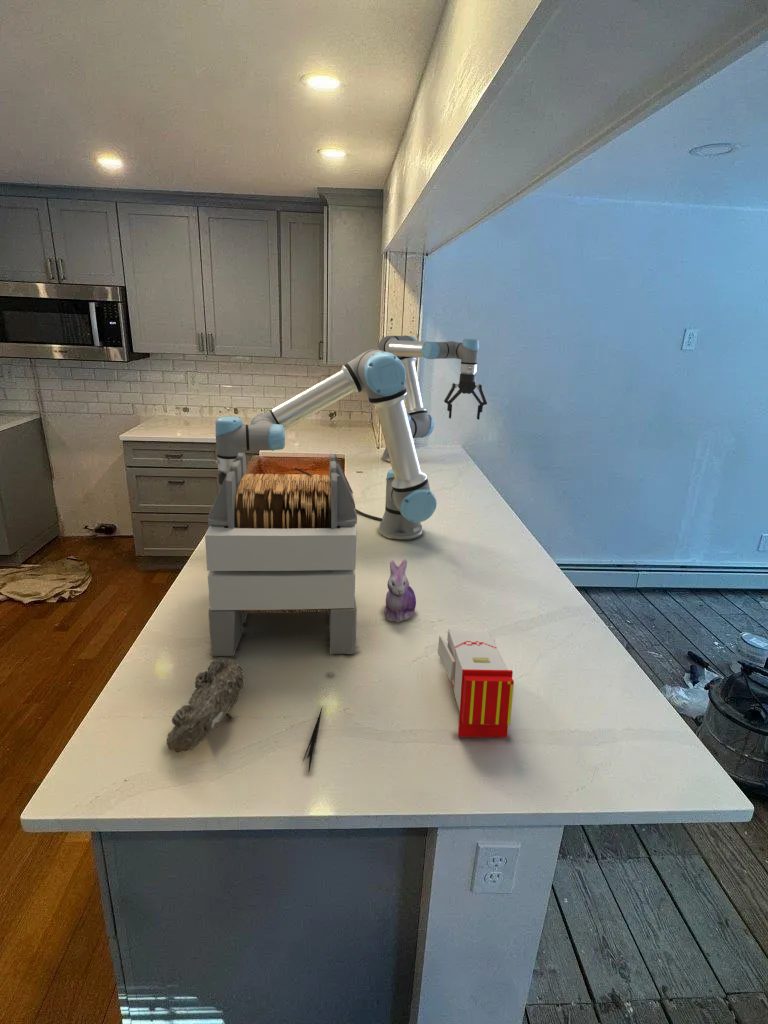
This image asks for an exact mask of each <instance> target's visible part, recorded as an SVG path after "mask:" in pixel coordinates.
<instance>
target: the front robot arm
mask: <svg viewBox="0 0 768 1024" xmlns="http://www.w3.org/2000/svg"><path fill="white" fill-rule="evenodd" d="M405 379H406V371H405V367H404V365H403V363H402V362H401V361H400V359H399V358H398V357H397V356H395V355H394V354H392V353H389V352H385V351H382V350H378V348H377V349H375V348H374V349H373V348H372V349H369V350H366V351H363V352H362V353H361V354H360V355H358V356H356V357H354V358H352V360H350V361H348V362H346V363H345V364H343V365H342V366H341V369H340V370H339V371H338V372H336V373H334V374H332V375H330V376H329V377H327V378H325V379H323V380H321V381H319V382H318V383H316V384H314V385H312V386H311V387H309V388H307V389H306V390H304V391H302V392H300V393H298V394H297V395H295V396H293V397H291V398H289V399H288V400H285V401H284V402H282V403H281V404H280V403H279V405H277V406H275V407H273V408H271V409H270V410H268V411H266V412H264V413H259V414H256V415H255V416H254V417H252V419H251V422H250V424H244V423H243V419H242V418H241V417H238V416H223V417H222V416H221V417H218V418H217V419H216V420H215V421H214V422H215V434H214V435H215V446H216V457H217V458H216V459H217V460H215V464H217V470H218V472H217V473H218V474H217V478H218V479H217V480H218V484H219V485H220V486H222V483H223V481H224V479H225V477H226V474H227V472H229V471H230V468H231V466H232V464H233V462H234V460H235V459H236V457H237V454H238V453H239V452H240V453H245V451H272V452H273V451H274V452H275V451H280V450H281V451H282V450H284V449H285V447H286V434H285V433H286V430H288V429H290V428H292V427H293V426H295V425H297V424H298V423H300V422H302V421H304V420H305V419H308V418H309V417H311V416H313V415H314V414H317V413H318V412H320V411H322V410H323V409H325V408H327V407H329V406H331V405H333V404H334V403H336V402H338V401H339V400H341V399H343V398H345V397H346V396H348V395H350V394H352V393H355V394H359V393H360V392H362V391H366V395H367V399H368V402H369V404H370V405H372V406H374V407H375V409H376V412H377V416H378V417H377V418H378V422H379V424H380V428H381V433H382V435H383V439H384V443H385V448H386V447H387V451H388V455H389V458H390V462H389V463H390V466H391V469H389V470H388V471H387V473H386V478H385V483H386V484H385V504H384V505H385V507H384V508H385V509H384V513H383V515H382V517H378V516H375V515H370V514H369V513H368V514H367V513H365V512H362V511H360V510H359V509H357V508H356V514H359V515H361V516H364V517H366V518H369V519H373V520H377V521H379V526H378V533H379V534H380V535H381V536H382V537H385V538H387V539H389V540H395V541H410V540H415V539H418V538H420V537H421V536H422V535H423V525H422V524H421V523H423V522H425V521H427V520H428V519H430V518H431V517H432V516H433V515H434V512H436V509H437V499H436V496H435V494H434V493H433V492H432V490H431V487H430V483H429V479H428V475H427V473H425V472H423V471H422V470H421V467H420V462H419V458H418V454H417V450H416V446H415V441H414V438H413V437H412V433H411V429H410V425H409V421H408V416H407V407H406V403H405V401H404V399H405V395H406V394H407V391H406V386H405ZM294 470H295V471H297V472H300V473H301V474H306V475H307V476H308V477H309V476H310V477H313V474H311V473H309V472H307V471H305V470H302V469H300V468H298V467H295V468H294Z"/></svg>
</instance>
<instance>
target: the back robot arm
mask: <svg viewBox="0 0 768 1024" xmlns="http://www.w3.org/2000/svg"><path fill="white" fill-rule="evenodd" d="M377 349H378V350H382V351H385V352H389V353H392V354H394V355H395V356H397V357H398V358H399V359H400V361H401V362H402V363H403V365H404V367H405V371H406V379H405V386H406V391H407V394H406V395H405V397H404V399H405V406H406V412H407V416H408V421H409V425H410V429H411V433H412V437H413V439H420V438H421V439H422V438H426V437H429V436H430V435H432V433H433V431H434V428H435V420H434V418H433V416H432V415H431V414H429V413H428V409H426V408H425V407H424V403H423V398H422V392H421V389H420V382H419V379H418V374H417V373H418V372H417V368H416V362H417V360H418V358H419V359H426V360H438V359H439V360H440V359H442V360H443V359H455V360H460V367H459V369H460V370H459V372H460V374H459V379H458V380H459V382H458V383H455V382H452V384H451V387H450V390H449V391H448V393H447V394H446V396H445V398H444V400H443V402H444V403H445V404H447V407H446V411H447V412H448V419H450V420H451V419H452V412H453V402H454V401H455V400H456V399H457V398H458V397H459V396H460V395H461V394H463V395H466V394H468V395H470V394H472V396H473V397H474V399H475V400H476V401H477V403H478V405H477V413H476V420H480V419H481V418H480V417H481V413H483V410H484V409H483V408H484V406H485V405H486V406H487V405H488V402H487V399H486V396H485V393H484V391H483V385H482V384H481V383H479V384H476V380H477V375H476V373H477V368H478V359H479V358H478V357H479V351H480V341H479V340H478V339H476V338H463V340H462V342H459V341H454V340H453V341H452V340H451V341H449V340H448V341H420V340H417V339H416V338H415V337H414V336H411V335H386V336H384V337H382V338H381V339H380V340H379V342H378V346H377ZM457 388H458V390H457V392H456V393H455V394H454V395H453V393H454V391H455V390H456V389H457ZM475 389H477V390H478V392H479V394H480V396H481V398H479V396H478V395H477V393H476V392H475ZM451 396H452V397H451ZM382 460H383V461H384V462H387V463H391V462H390V458H389V455H388V451H387V447H386V446H385V449H384V451H383V454H382Z"/></svg>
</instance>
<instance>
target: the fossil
mask: <svg viewBox="0 0 768 1024" xmlns="http://www.w3.org/2000/svg"><path fill="white" fill-rule="evenodd" d="M243 670H244V669H243V667H242V665H240V664H237V662H236V661H235V660H234V659H232V658H231V659H227V658H226V659H224V660H223V661H222V660H217V659H212V660H211V661H210V663H209V665H208V666H207V671H201V672H199V673H198V674H197V675H196V676H195V680H194V684H195V685H194V687H195V689H194V690H193V693H192V694H191V697H190V698H189V700H188V704H184V705H182V706H181V707H180V709H177V710H176V711H175V713H174V715H173V716H172V718H171V723H172V724H173V727H172V730H171V731H170V732H168V734H167V738H166V741H167V742H166V745H167V749H168V750H169V751H173V752H174V753H176V754H178V753H182V752H188V751H189V752H192V751H193V750H195V748H196V747H197V746H199V744H200V743H201V742H203V741H204V740H205V739H206V738H207V737H208V736H209V735H210V734H211V733H212V732H214V730H215V729H217V727H218V726H219V724H220V722H221V721H222V720H223V719H224V718H225V716H226V717H227V719H229V720H233V717H232V715H230V714H229V710H230V709H231V708H234V706H235V704H236V703H237V702H238V699H239V697H240V695H241V693H242V691H243V690H245V689H244V688H245V675H244V671H243Z"/></svg>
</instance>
